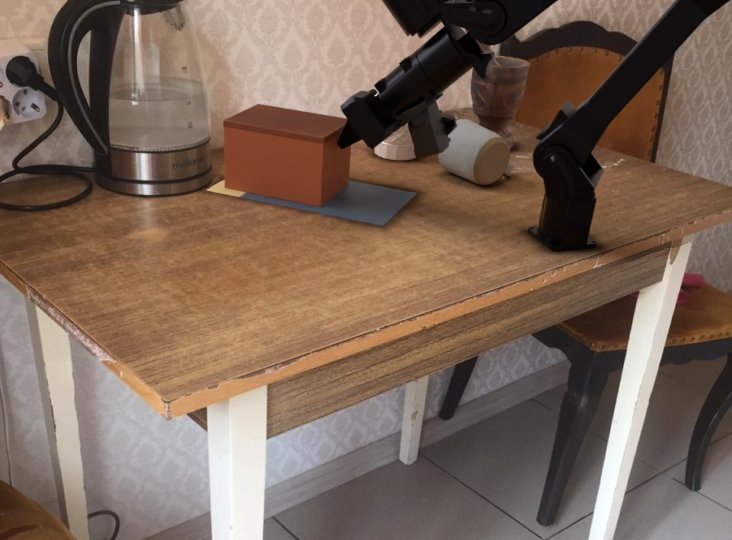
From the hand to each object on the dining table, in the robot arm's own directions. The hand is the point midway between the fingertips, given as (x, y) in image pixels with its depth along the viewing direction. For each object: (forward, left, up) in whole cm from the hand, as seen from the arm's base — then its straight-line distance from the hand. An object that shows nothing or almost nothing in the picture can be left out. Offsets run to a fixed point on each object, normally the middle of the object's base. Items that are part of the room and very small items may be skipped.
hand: (340, 145), depth 112 cm
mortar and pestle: (+19, -31, -7) cm, 37 cm away
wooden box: (+5, +6, -7) cm, 10 cm away
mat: (+2, +3, -7) cm, 8 cm away
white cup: (+17, -15, -7) cm, 23 cm away
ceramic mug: (+5, -23, -7) cm, 24 cm away
